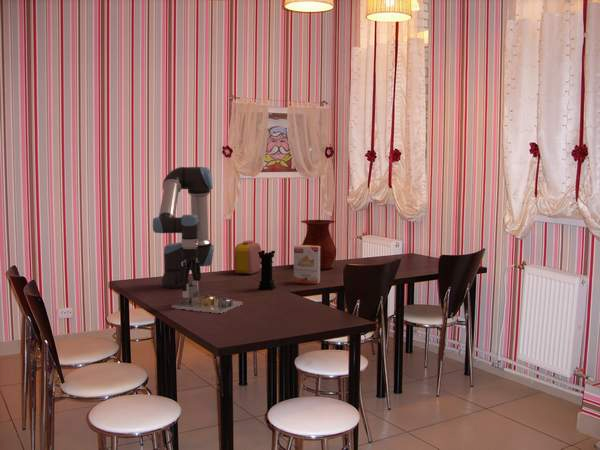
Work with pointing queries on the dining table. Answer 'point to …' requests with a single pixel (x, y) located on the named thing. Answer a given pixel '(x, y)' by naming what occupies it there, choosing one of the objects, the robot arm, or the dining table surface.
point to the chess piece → (266, 271)
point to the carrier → (208, 304)
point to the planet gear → (192, 291)
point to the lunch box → (247, 257)
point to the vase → (321, 240)
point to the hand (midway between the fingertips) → (190, 295)
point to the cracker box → (306, 264)
